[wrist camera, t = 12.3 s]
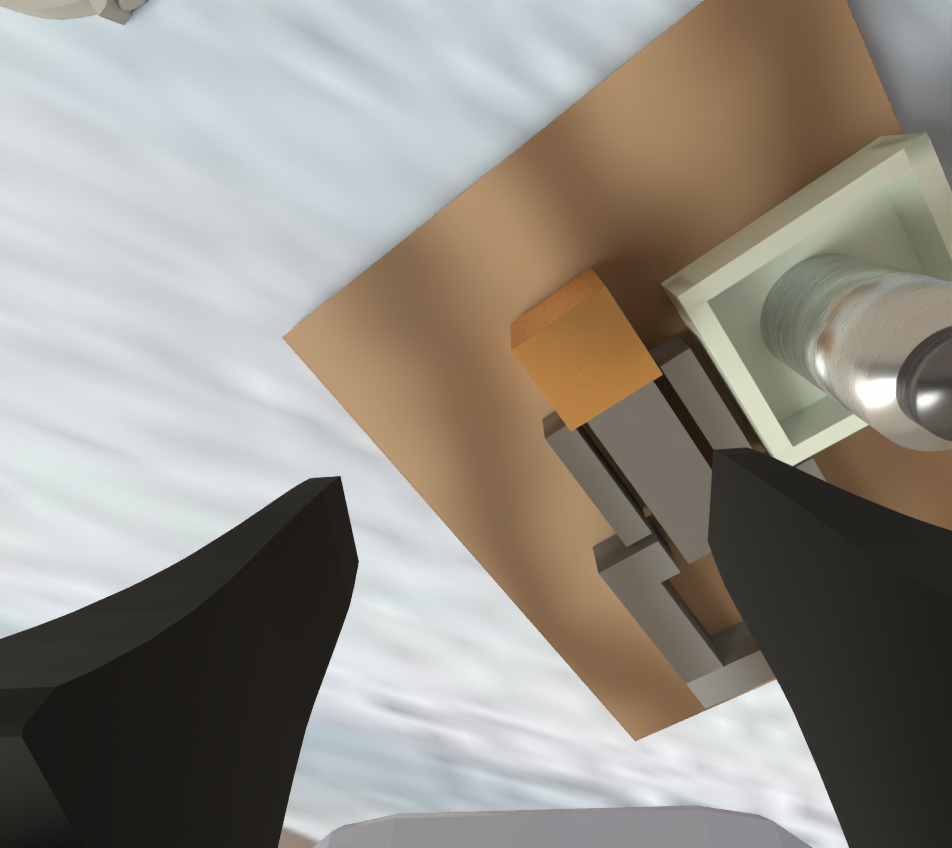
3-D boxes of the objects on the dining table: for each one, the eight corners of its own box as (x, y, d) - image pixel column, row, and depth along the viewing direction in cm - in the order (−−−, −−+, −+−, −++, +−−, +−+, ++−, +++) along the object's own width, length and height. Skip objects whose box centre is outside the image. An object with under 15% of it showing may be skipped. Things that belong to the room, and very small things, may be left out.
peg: (905, 269, 18) (1119, 326, 12) (847, 380, 19) (1010, 483, 13) (790, 240, 18) (946, 282, 11) (741, 353, 19) (855, 446, 13)
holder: (792, -70, 16) (843, -111, 13) (1055, 531, 23) (1119, 574, 20) (291, 329, 21) (264, 351, 18) (631, 722, 28) (642, 774, 25)
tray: (881, 135, 17) (927, 132, 15) (965, 328, 19) (1015, 346, 17) (660, 283, 19) (677, 297, 17) (758, 443, 21) (783, 471, 19)
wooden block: (590, 267, 18) (605, 285, 16) (747, 508, 21) (782, 559, 19) (510, 323, 19) (510, 350, 16) (672, 547, 22) (696, 602, 19)
